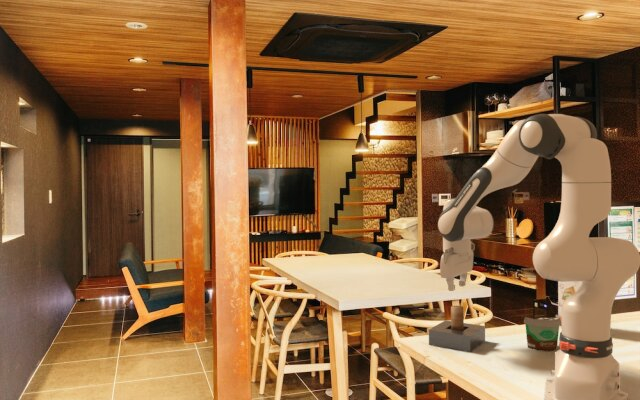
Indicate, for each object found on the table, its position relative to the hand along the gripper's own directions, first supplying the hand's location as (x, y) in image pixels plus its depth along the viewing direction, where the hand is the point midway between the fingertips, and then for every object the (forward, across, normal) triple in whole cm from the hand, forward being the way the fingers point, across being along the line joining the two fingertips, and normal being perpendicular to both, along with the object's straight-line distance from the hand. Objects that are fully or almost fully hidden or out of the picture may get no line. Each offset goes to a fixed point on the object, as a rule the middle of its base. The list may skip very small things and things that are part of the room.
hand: (457, 288), depth 175 cm
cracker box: (+18, +39, -30) cm, 53 cm away
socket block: (+18, 0, 0) cm, 18 cm away
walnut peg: (+18, 0, 0) cm, 18 cm away
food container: (+19, +9, -26) cm, 33 cm away
